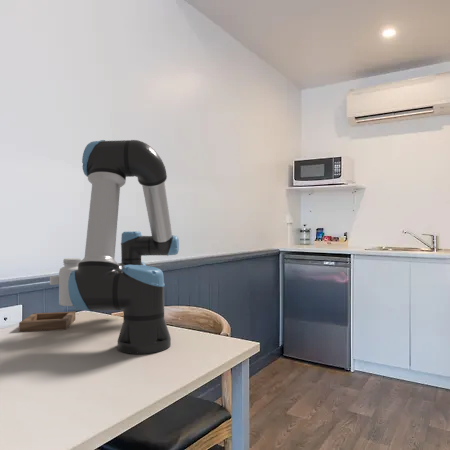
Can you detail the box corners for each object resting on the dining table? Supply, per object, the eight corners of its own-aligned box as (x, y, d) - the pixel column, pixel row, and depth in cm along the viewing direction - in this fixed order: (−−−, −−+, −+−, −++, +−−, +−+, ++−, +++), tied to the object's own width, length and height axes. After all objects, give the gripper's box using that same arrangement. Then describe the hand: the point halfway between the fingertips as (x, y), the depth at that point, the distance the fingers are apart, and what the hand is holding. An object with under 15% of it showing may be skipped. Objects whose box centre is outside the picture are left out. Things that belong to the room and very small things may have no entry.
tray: (66, 329, 138) (65, 320, 138) (19, 331, 136) (19, 322, 136) (75, 319, 153) (75, 311, 153) (33, 321, 151) (33, 313, 151)
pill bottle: (79, 306, 128) (79, 259, 129) (54, 306, 129) (54, 259, 129) (88, 302, 136) (88, 257, 137) (65, 302, 136) (64, 257, 137)
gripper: (134, 286, 143) (81, 295, 123) (93, 283, 153) (38, 291, 134) (133, 265, 143) (81, 270, 123) (92, 263, 153) (38, 268, 134)
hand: (59, 281), depth 128 cm, fingers closed on pill bottle, 8 cm apart
